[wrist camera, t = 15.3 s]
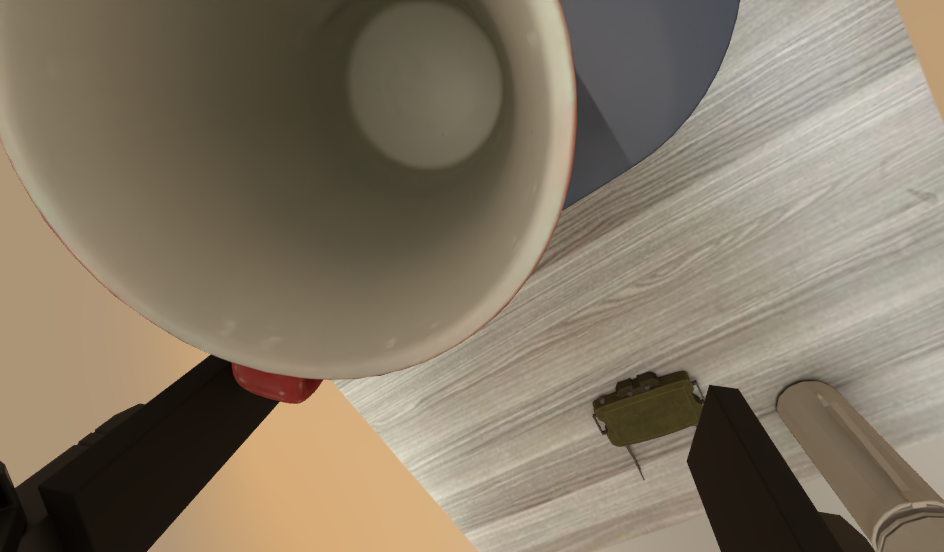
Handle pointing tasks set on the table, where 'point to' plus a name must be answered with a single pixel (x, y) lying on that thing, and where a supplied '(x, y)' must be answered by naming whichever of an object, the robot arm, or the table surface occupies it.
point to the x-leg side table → (638, 77)
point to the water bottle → (864, 470)
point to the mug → (296, 167)
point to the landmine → (648, 409)
